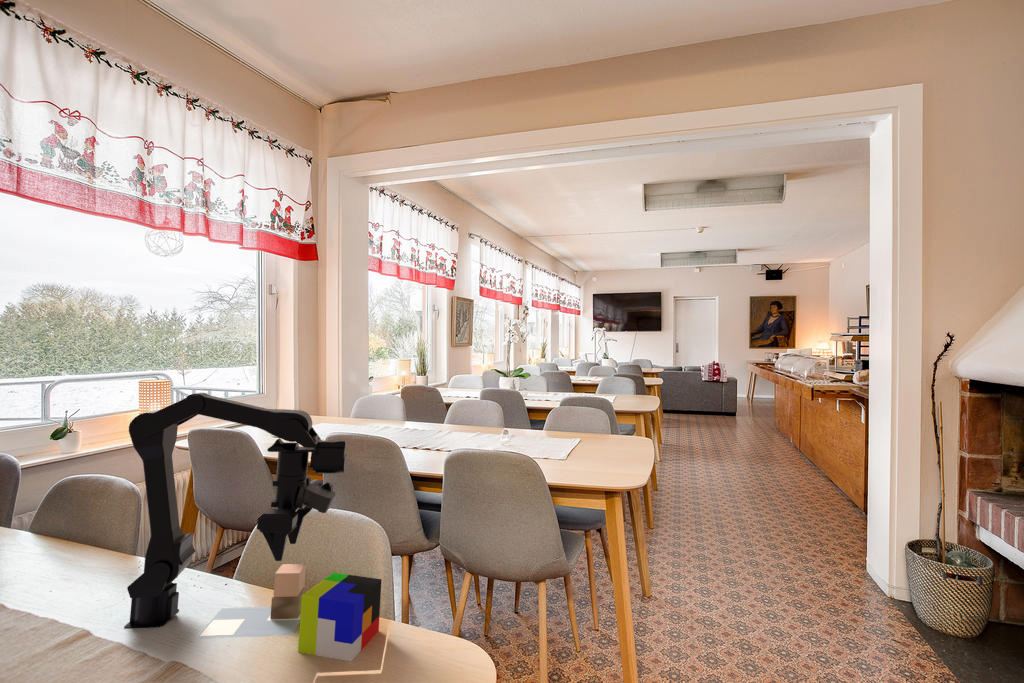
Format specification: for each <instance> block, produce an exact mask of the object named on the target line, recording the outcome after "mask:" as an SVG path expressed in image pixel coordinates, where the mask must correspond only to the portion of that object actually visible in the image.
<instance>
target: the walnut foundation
mask: <svg viewBox="0 0 1024 683" xmlns="http://www.w3.org/2000/svg"><path fill="white" fill-rule="evenodd" d="M304 593H306V585H304V588H303V589H302V591H301V593H300V594H299V596H298V597H274V594H273V596H272V597H271V603H270V604H271V605H270V607H271V617H270V619H294V618H298V617H299V615H300V613H301V599H302V595H303V594H304Z"/></svg>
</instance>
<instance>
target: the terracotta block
mask: <svg viewBox="0 0 1024 683" xmlns="http://www.w3.org/2000/svg"><path fill="white" fill-rule="evenodd" d="M306 565H307V564H306V563H290V564H288V563H286V564H285V563H283V564H281V566H280V567H279V568H278V569H277V570H276V572H275V574H274V583H273V584H274V586H273V595H274V597H298V596H299V594H300V593H301V591H302V589H303V588H304V586H305V578H306Z"/></svg>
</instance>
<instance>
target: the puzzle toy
mask: <svg viewBox="0 0 1024 683" xmlns="http://www.w3.org/2000/svg"><path fill="white" fill-rule="evenodd" d="M381 596H382V579H381V578H374V577H368V576H360V575H353V574H347V573H338V572H332V573H331V574H330V575H328V576H327V577H325V578H324V579H322V580H321V581H320V582H318V583H317V584H316V585H314V586H313V587H311V588H310V589H309V590H307V591H305V593H304V594H303V595H302V599H301V614H300V622H299V629H298V630H299V634H298V646H297V652H298V653H303V654H307V655H308V654H309V655H312V656H318V657H319V656H320V657H324V658H329V659H330V658H331V659H335V660H342V661H346V662H352V661H353V660H354V659H355V658H356V656H358V654H359V653H360V652H361V651H363V649H364V648H365V646H367V644H368V643H370V641H371V640H372V639H373V638H374V637H375V635H376V634H377V633H378V632H379V630H380V614H381V613H380V610H381Z"/></svg>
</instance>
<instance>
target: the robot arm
mask: <svg viewBox="0 0 1024 683" xmlns="http://www.w3.org/2000/svg"><path fill="white" fill-rule="evenodd" d="M197 416H204V417H209V418H213V419H218V420H222V421H226V422H231V423H235V424H239V425H245V426H248V427H249V426H250V427H254V428H258V429H259V430H263V431H265V432H266V433H268V434H270V435H272V436H274V437H276V438H277V439H276V440H275V441H274V443H273V444H272V445H270V446H269V447H268V448H267V452H269V453H275V452H276V453H277V466H276V478H275V479H273V480H272V487H275V493H274V499H273V500H272V501H271V502H270V507H271V508H268V509H267V510H266V511H265V512H263V513H262V514H261V515H260V516H259V517H257V519H256V520H257V521H256V522H257V524H256V529H257V530H258V531H259V532H260V533H262V535H263V537H264V539H265V541H266V543H267V545H268V547H269V549H270V552H271V554H272V556H273V558H274V561H275V562H281V561H282V560H283V558H284V555H285V550H286V545H287V540H288V541H289V544H290V545H296V543H297V541H298V537H299V536H300V535H299V534H300V531H301V529H302V526H303V523H304V520H305V516H306V515H307V514H309V513H310V512H311V511H312V510H315V511H317V512H319V513H322V514H326V513H327V512H328V511H329V509H330V507H331V506H332V503H333V501H334V499H335V497H336V495H337V494H336V491H334V487H333V486H334V484H333V483H331V482H329V481H325V482H324V483H323V484H321V486H320V485H318V484H317V485H315V484H311V480H312V479H311V478H310V475H309V476H308V468H309V466H310V469H312V471H315V474H317V475H318V474H319V475H320V474H321V475H322V474H325V475H326V474H331V475H332V474H345V472H346V466H347V465H346V464H347V459H348V458H347V456H348V455H347V440H346V439H338V440H322V438H321V437H320V435H319V434H318V433H317V431H316V430H315V428H314V427H313V420H312V417H311V415H310V414H309V413H308V412H306V411H304V410H299V409H298V410H297V409H286V408H285V409H284V408H282V409H281V408H277V409H276V408H265V407H261V406H257V405H252V404H248V403H245V402H244V403H243V402H240V401H234V400H231V399H227V398H222V397H218V396H214V395H210V394H208V393H206V392H195V393H192V394H188V395H187V396H186V397H184V398H183V399H181V400H179V401H176V402H174V403H172V404H170V405H168V406H165V407H163V408H161V409H157V410H151V411H148V412H147V411H146V412H143V413H140V414H138V415H136V416H135V417H134V418H133V419H132V420H131V421H130V423H129V425H128V433H129V436H130V439H131V443H132V446H133V449H134V450H135V452H136V453H137V455H138V456H139V457H140V459H141V461H142V465H143V474H144V483H145V493H146V503H147V513H148V522H149V530H150V538H149V542H148V544H147V548H146V551H145V554H144V563H143V565H144V566H143V573H142V574H141V575H139V576H138V577H137V578H136V579H135V580H133V582H131V583H130V584H129V585H128V586H127V587H126V589H127V592H128V596H129V598H130V599H131V602H130V603H131V604H130V612H129V613H130V614H129V622H127V624H124V626H123V629H149V628H150V629H151V628H153V629H154V628H162V627H164V626H165V625H166V624H167V623H168V622H169V621H170V620H171V619H173V618H174V617H175V616H176V615H177V614H178V613H179V612H180V609H179V598H180V592H179V591H177V587H178V583H176V582H174V580H176V579H178V577H179V575H180V574H182V572H184V570H185V569H186V568H187V567H188V565H190V563H191V561H192V559H193V555H194V554H195V553H196V549H195V547H194V545H193V544H194V543H193V542H194V533H193V532H188V533H186V534H185V532H184V531H183V530H182V528H181V525H180V519H179V511H178V510H179V509H178V499H177V492H176V490H177V489H176V482H175V481H176V480H175V472H174V464H173V463H174V462H173V452H174V449H175V446H176V441H177V439H178V429H179V428H178V427H179V426H181V425H183V424H184V423H186V422H188V421H191V419H193V418H195V417H197ZM284 441H285V442H284ZM309 453H310V455H309ZM309 456H310V465H309Z"/></svg>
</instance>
